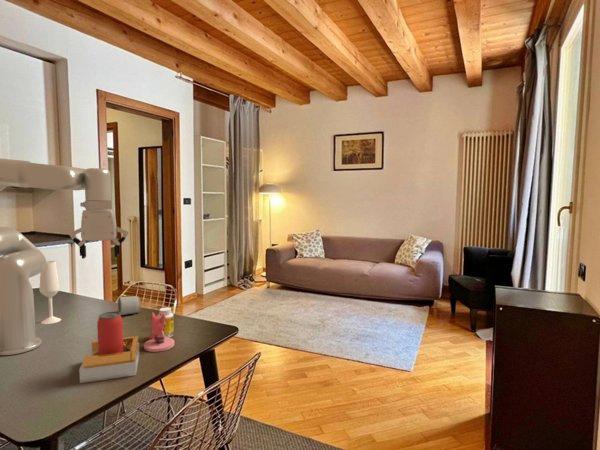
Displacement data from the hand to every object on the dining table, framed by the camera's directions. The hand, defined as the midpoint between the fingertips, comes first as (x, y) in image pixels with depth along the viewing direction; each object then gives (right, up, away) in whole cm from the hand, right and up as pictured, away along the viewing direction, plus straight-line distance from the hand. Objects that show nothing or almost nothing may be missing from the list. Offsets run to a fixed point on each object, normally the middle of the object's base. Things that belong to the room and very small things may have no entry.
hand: (100, 257), depth 121 cm
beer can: (+11, -28, -14) cm, 33 cm away
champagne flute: (-33, -28, +24) cm, 49 cm away
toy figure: (+19, -31, +3) cm, 36 cm away
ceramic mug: (-7, -27, +35) cm, 45 cm away
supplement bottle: (+18, -30, +11) cm, 36 cm away
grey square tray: (+11, -32, -13) cm, 36 cm away
